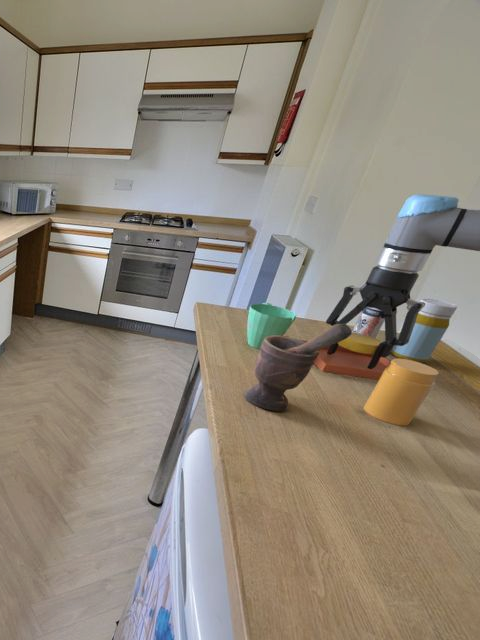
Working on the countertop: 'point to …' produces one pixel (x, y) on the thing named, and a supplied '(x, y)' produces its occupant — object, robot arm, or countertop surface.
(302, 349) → the mortar and pestle
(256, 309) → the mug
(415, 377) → the jam jar
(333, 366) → the tray
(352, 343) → the jar lid
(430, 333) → the bottle
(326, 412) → the countertop surface
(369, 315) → the beer can
